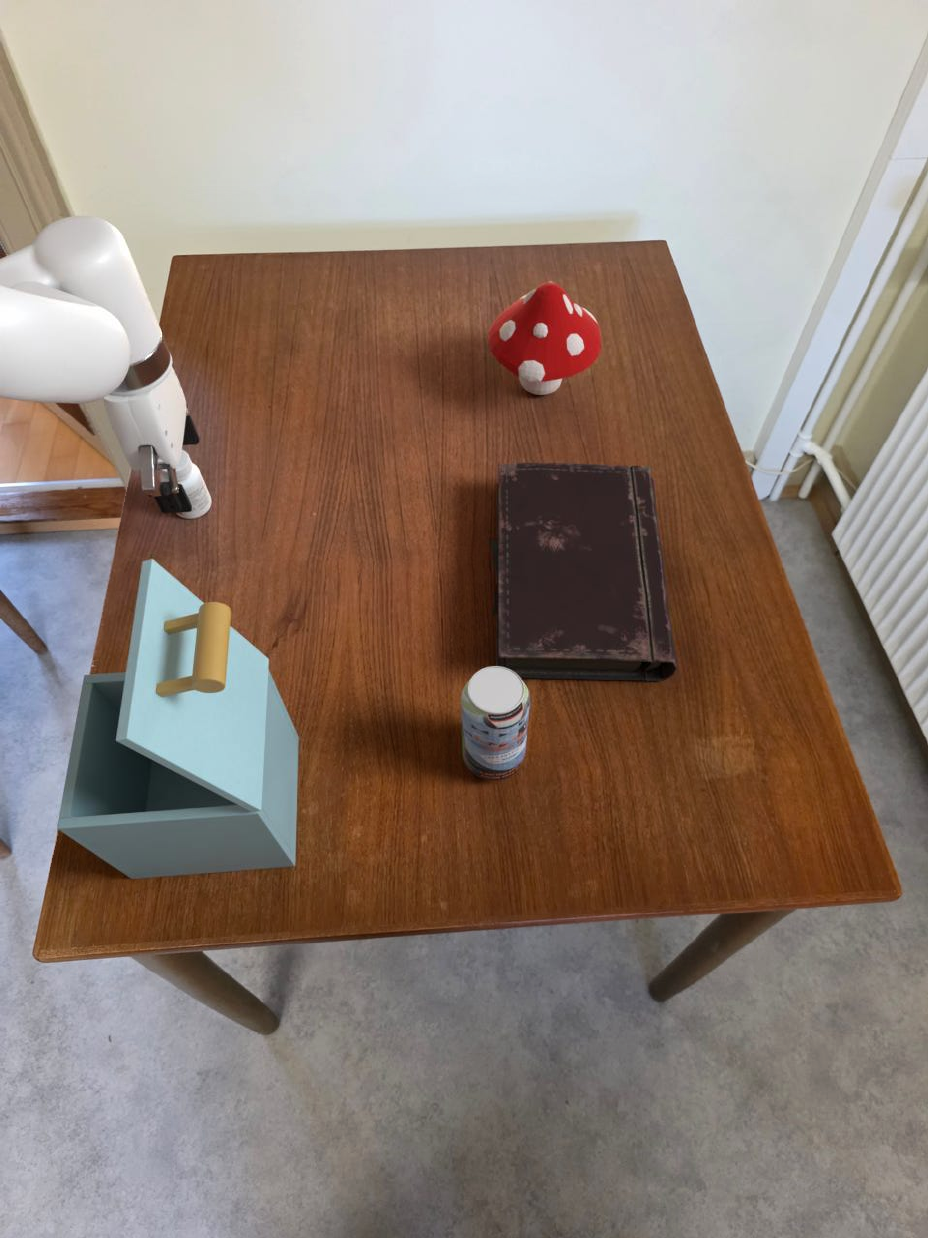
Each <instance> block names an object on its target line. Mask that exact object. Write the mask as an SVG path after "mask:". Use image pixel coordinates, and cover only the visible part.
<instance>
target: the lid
mask: <svg viewBox="0 0 928 1238" xmlns="http://www.w3.org/2000/svg"><path fill="white" fill-rule="evenodd" d="M137 588H138V589H137V594H136V601H135V608H134V616H133V622H132V629H131V634H130V642H129V649H128V655H127V662H126V669H125V672H126V675H125V681H124V688H123V695H122V701H121V708H120V715H119V722H118V728H117V735H116V741H117V742H119V743H121V744H123V745H125V746H127V747H129V748H131V749H133V750H134V751H136V752H138V753H140V754H142V755H144V756H146V757H148V758H150V759H152V760H154V761H155V762H157V763H159V764H161V765H163V766H165V767H167V768H169V769H171V770H173V771H174V772H176V773H178V774H180V775H182V776H184V777H186V778H188V779H190V780H192V781H194V782H195V783H197V784H199V785H201V786H203V787H205V788H207V789H209V790H211V791H213V792H215V793H216V794H218V795H220V796H222V797H224V798H226V799H228V800H230V801H232V802H234V803H235V804H237V805H239V806H241V807H243V808H245V809H247V810H249V811H251V812H256V811H261V808H262V788H263V768H264V747H265V727H266V707H267V686H268V669H269V665H270V664H269V663H270V659H269V658H268V657H267V656H266V655H265V654H264V653H263V652H261V651H260V650H259V649H258V648H257V647H256V646H255V645H253V644H252V643H251V642H250V641H249V640H248V639H246V638H245V637H244V636H243V635H241V634H240V633H239V632H238V630H236V629H235V628H234V627H232V626H231V622H232V621H231V620H232V609H231V607H230V606H229V605H227V604H226V603H222V602H219V601H209V602H204V601H202V600H201V599H200V598H199V597H197V596H196V594H194V593H193V592H192V591H191V590H189V588H187V587H186V586H185V585H184V584H183V583H181V582H180V581H179V580H178V579H177V578H176V577H175V576H173V574H171V573H170V572H168V571H167V570H166V569H165V568H164V567H163V566H162V565H161V564H160V563H158V562H157V561H156V560H155V559H154V558H150V559H147V560H142V563H141V569H140V575H139V581H138V587H137Z"/></svg>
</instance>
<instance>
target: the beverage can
mask: <svg viewBox="0 0 928 1238" xmlns="http://www.w3.org/2000/svg"><path fill="white" fill-rule="evenodd" d="M460 696H461V697H460V698H461V700H460V703H461V705H460V706H461V748H462V759H463V762H464V764H465V766H466V767H467V769H468V770H469V771H470V772H471V773H472V774H474V775H475V776H476V777H478V778H481V779H484V780H485V781H501V780H505V779H509V778H510V777H512V776H514V775H515V774H516V773H517V772H519V770H520V769H521V768H522V766H523V764H524V762H525V758H526V750H527V740H528V739H527V738H528V730H529V719H530V708H531V695H530V690H529V689H528V686H527V685H526V684H525V682H524V681H523V680H522V678H520V677H519V676H518V675H517V674H516V673H515V672H514V671H512V670H510V669H508V668H505V667H500V666H497V665H494V666H493V665H492V666H486V667H484V668H483V667H482V668H481V669H479V670H477V671H476V672H475V673H474V674H473V675H472V676H471V677H470V679H469V680H468V681H467V682H466V683H465V685H464V687H463V689H462V691H461V695H460Z"/></svg>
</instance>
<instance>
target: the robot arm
mask: <svg viewBox="0 0 928 1238" xmlns="http://www.w3.org/2000/svg"><path fill="white" fill-rule="evenodd" d="M0 399H6V400H14V401H22V402H33V403H50V404H51V403H53V404H72V405H73V404H74V405H75V404H76V405H81V404H89V403H93V402H97V401H99V400H101V399H102V401H103V404H104V407H105V411H106V414H107V418H108V420H109V423H110V425H111V428H112V431H113V432H114V435H115V437H116V439H117V442H118V444H119V446H120V448H121V450H122V452H123V455H124V457H125V459H126V461H127V464H128V465H129V467H130V468H131V470H133V472H134V473H135V472H140V478H141V479H140V481H141V489H142V492H143V493H144V494H146V495H148V497H149V498H153V497H154V499H155V501H156V504H157V506H158V507H159V509H160V511H161V513H163V514H176V513H180V512H191V511H192V505H191V503H190V500H189V498H188V496H187V494H186V492H185V490H184V488H183V485H182V484H178V480H177V475H176V469H175V468H176V467H177V466H178V464H179V463H180V459H181V452H182V450H183V446H191V445H198V444H199V443H200V441H201V440H200V439H201V437H200V435H199V432H198V430H197V428H196V426H195V423H194V421H193V418H192V415H190V414H189V405H188V404H187V401H186V397H185V394H184V390H183V388H182V385H181V383H180V381H179V378H178V376H177V374H176V371H175V368H174V364H173V356H172V354H171V352H170V349H169V346H168V344H167V341H166V339H165V336H164V334H163V331H162V329H161V326H160V324H159V322H158V319H157V317H156V314H155V311H154V308H153V307H152V304H151V302H150V299H149V296H148V294H147V291H146V289H145V286H144V283H143V281H142V279H141V276H140V273H139V271H138V268H137V266H136V263H135V261H134V259H133V256H132V254H131V252H130V249H129V246H128V244H127V242H126V240H125V238H124V236H123V235H122V233H121V232H120V231H119V229H118V228H117V227H116V226H115V225H113V224H112V223H110V222H109V221H107V220H105V219H103V218H100V217H96V216H91V215H72V216H67V217H63V218H60V219H57V220H55V221H53V222H51V223H49V224H47V225H46V226H45V227H44V228H42V229H41V230H40V231H39V232H38V233H37V235H36V236H35V238H34V239H33V241H32V243H31V244H28V245H26V246H24V247H23V248H21V249H19V250H17V251H15V252H13V253H10V254H8V255H6V256H4V257H1V258H0ZM188 414H189V415H188ZM157 457H158V458H160V459H161V460H162V461H163V462H157V461H158V458H157ZM162 469H167V472H168V478H169V482H161V481H160V479H159V477H158V470H159V471H160V470H162Z"/></svg>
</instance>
